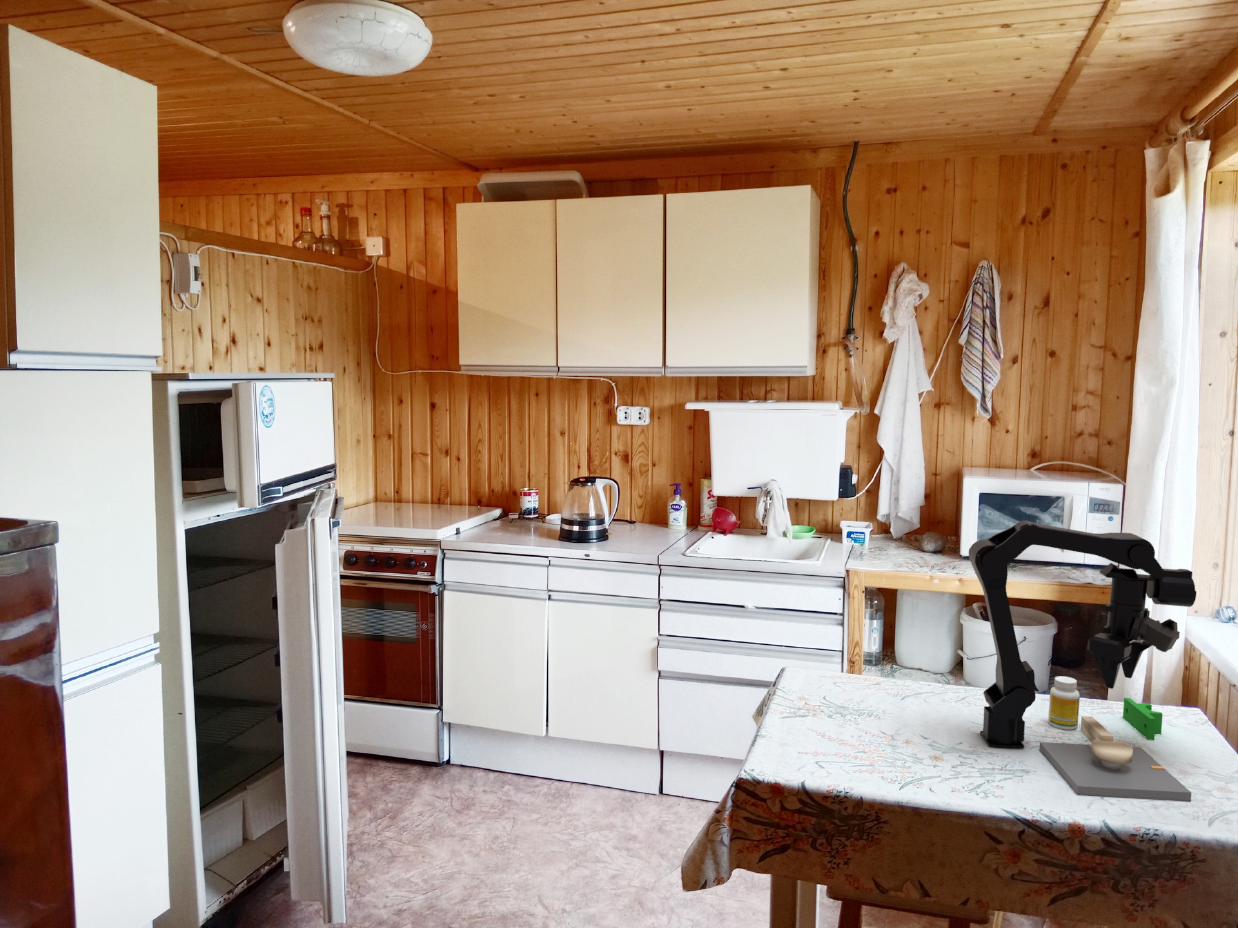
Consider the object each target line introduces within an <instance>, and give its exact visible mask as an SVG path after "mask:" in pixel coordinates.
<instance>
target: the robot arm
mask: <svg viewBox="0 0 1238 928" xmlns="http://www.w3.org/2000/svg"><path fill="white" fill-rule="evenodd" d="M1032 545H1038V546H1042V547H1048V548H1053V549H1054V548H1055V549H1058V550H1059V549H1060V550H1065V551H1071V552H1075V553H1076V552H1077V553H1082V554H1088V555H1092V556H1097V557H1099V558H1102V559H1106V560H1108V561H1111V563H1110V562H1109V564H1108V565H1107V566H1106V567H1103V568H1102V569H1100V570H1099V574H1101V575H1102V576H1104V577H1106V578H1108V579H1111V583H1110V586H1111V587H1110V596H1109V604H1105V608H1104V611H1105V612H1108V615H1107V624H1106V625H1105V626H1103V627H1102V632H1099V633H1097V634H1095V635H1094V636H1091V637H1089V638H1088V639H1087V647H1086V650H1087V651H1089V653H1090V654H1091V655H1092V657H1093V658H1094V660H1095V662H1096V664H1097V667H1098V670H1099V671H1100V674H1101V675H1100V676H1101V677H1102V679H1103V682H1104V685H1105V686H1106V688H1108V689H1111V690H1113V689H1114V688H1115V685H1116V681H1117V680H1118V679H1117V678H1118V675H1119V672H1120V667H1122V672H1123V675H1124V677H1125V678H1127V679H1132V678H1133V675H1134V673H1135V670H1136V668H1137V666H1138V664H1139V661H1140V659H1141V656H1142V654H1143V653H1144V651H1146V650H1147V649H1149V648H1151V647H1152V646H1153V647H1154V648H1155V649H1156V650H1158V651H1160V652H1162V653H1167V652H1168V651H1170V650H1172V649H1173V647H1174V645H1175V643H1176V642H1177V640H1179V639H1180V633H1181V632H1180V631H1179V630H1178V622H1177V621H1175V620H1174V619H1171V618H1169V619H1166V620H1164V621H1162V622H1161V621H1160V620H1155V619H1153V618H1152V617H1150V613H1151V612H1150V610H1149V607H1148V608H1147V607H1146V600H1147V599H1146V598H1148V599H1151V600H1152V602H1153V604H1155V605H1162V606H1174V607H1185V608H1187V607H1188V608H1190V607H1192V606H1193V605H1194V604H1195V602H1196V600H1197V590H1196V585H1195V581H1194V579H1193V571H1191V570H1190V569H1188V568H1177V569H1175V568H1163V567H1162V566H1161V565H1160V563H1159V561H1158V560H1157V558H1156V557H1155V555H1156V551H1155V547H1154V546H1153V544H1152V543H1151V542H1150V541H1149V540H1147V539H1145V538H1143V537H1141V536H1138V535H1137V534H1134V533H1131V532H1104V533H1093V532H1088V531H1082V530H1076V529H1071V528H1065V527H1060V526H1059V527H1058V526H1053V525H1047V524H1042V523H1035V522H1031V521H1029V520H1021V521H1020V520H1019V521H1018V522H1017V523H1015V524H1014V525H1012V526H1011V527H1009V528H1007V529H1005V530H1002V531H1000V532H997V533H995V534H994V535H992V536H990V537H989V538H987V539H979V540H976V541H975V542H973V544H972V545H971V546H970V547H969V549H968V558H969V561H970V563H971V566H972V568H973V571H974V573H975V575H976V578H977V580H978V581H979V584H980V585H981V588H982V591H983V595H984V600H985V605H986V610H987V616H988V619H989V625H990V629H991V634H992V638H993V643H994V648H995V653H996V663H995V682H994V683H993V684H991V685H990V686H989V687H987V688H986V689H985V690H984V691H983V692H982V693H983V697H984V699H985V701H986V703H987V705H988V706H985V705H984V706H983V722H982V723H983V725H982V730H980V731H979V734H980V736H981V738H983V740H984V741H985V743H986V745H988V747H991V748H992V747H994V748H1009V749H1010V748H1012V749H1013V748H1014V749H1024V748H1025V745H1024V741H1025V728H1026V726H1025V725H1026V721H1025V720H1024V719H1023V717H1024V714H1025V712H1026V711H1027V709H1028V708H1029V707H1031V706H1032V705H1033V703H1034V702H1035V701H1036V693H1037V692H1039V689H1038V686H1036V681H1035V680H1036V679H1035V678H1036V673H1035V670H1034V669H1033V668H1032V666H1031V665H1030V664H1029V662H1028V661H1027V660H1023V661H1022V659H1021V656H1020V655H1021V654H1020V651H1019V646H1018V641H1017V637H1016V630H1015V626H1014V622H1013V617H1012V613H1011V608H1010V603H1009V598H1008V593H1007V581H1008V577H1009V576H1008V570H1009V569H1008V564H1009V563H1010V562H1012V561H1013V560H1015V559H1016V558H1018V557H1020V555H1021V554H1022V553H1024V551H1026V550H1027V549H1028V548H1029V547H1031V546H1032ZM1112 562H1113V563H1112ZM1114 563H1116V564H1119V565H1121V566H1124V567H1128V568H1124V567H1123V568H1122V567H1117V565H1115V564H1114ZM1136 570H1140V571H1141V570H1142V571H1143V572H1145V573H1147V574H1143V573H1142V574H1141V573H1137V572H1136Z"/></svg>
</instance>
